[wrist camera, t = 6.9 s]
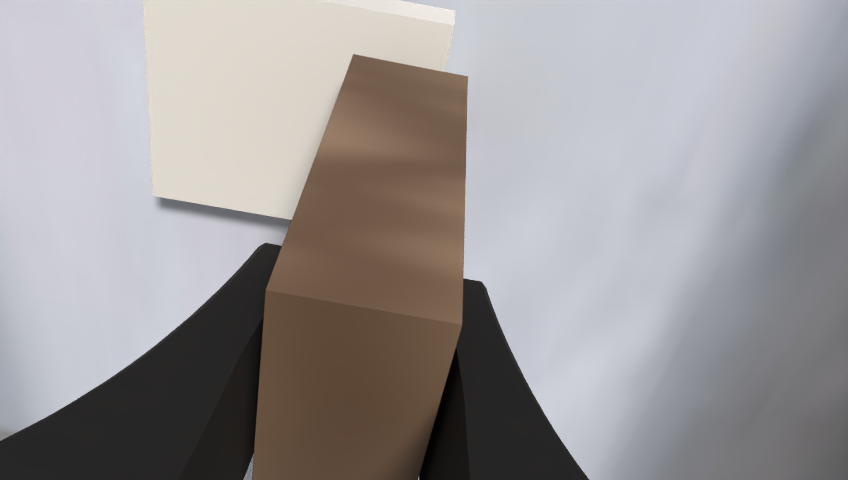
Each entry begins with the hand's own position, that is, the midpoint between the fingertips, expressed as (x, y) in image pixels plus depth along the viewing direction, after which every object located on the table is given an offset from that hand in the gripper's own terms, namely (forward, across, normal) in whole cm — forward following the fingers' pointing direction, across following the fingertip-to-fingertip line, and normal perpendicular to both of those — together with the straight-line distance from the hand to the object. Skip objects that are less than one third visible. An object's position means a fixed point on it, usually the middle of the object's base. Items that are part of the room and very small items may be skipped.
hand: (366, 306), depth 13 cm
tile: (+7, -1, 0) cm, 7 cm away
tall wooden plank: (+5, 0, 0) cm, 5 cm away
